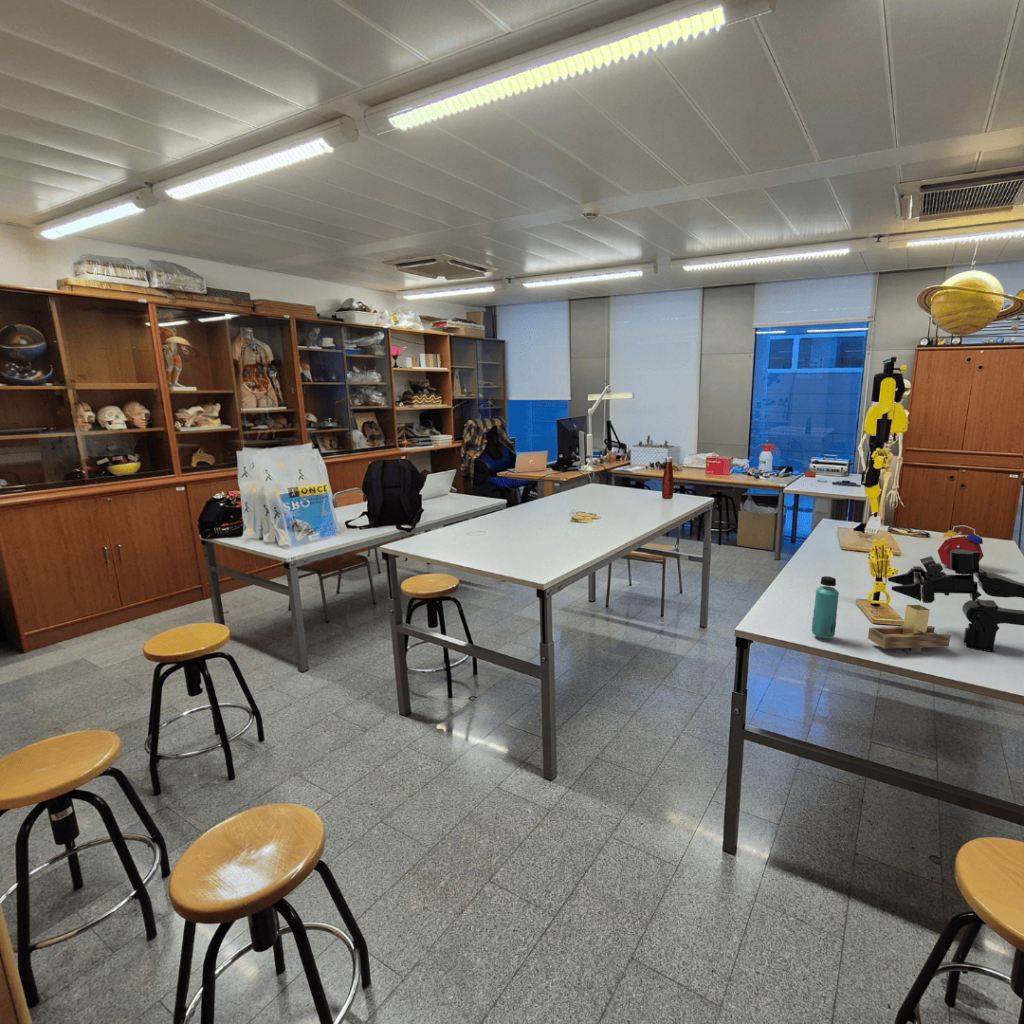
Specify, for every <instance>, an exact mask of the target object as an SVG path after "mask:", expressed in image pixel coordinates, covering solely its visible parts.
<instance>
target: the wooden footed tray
mask: <svg viewBox="0 0 1024 1024" xmlns="http://www.w3.org/2000/svg"><path fill="white" fill-rule="evenodd" d="M935 628H936V627H934V626H933V625H927V631H926V634H923V635H905V634H903V633H902V632H903V626H889V627H888V626H882V627H869V628H868V633H867V639H868V640H870V641H871V642H873V643H874V644H876V645H878V646H879V647H881V648H883V649H884V650H885V649H901V650H903V651H905V652H907V653H908V654H910V655H916V654H917V655H919V654H922V648H941V647H950V642H951V634H949V633H937V632H935Z"/></svg>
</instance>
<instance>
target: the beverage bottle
mask: <svg viewBox="0 0 1024 1024" xmlns="http://www.w3.org/2000/svg"><path fill="white" fill-rule="evenodd" d="M836 580H837V579H836V578H835V577H832V576H826V575H825V576H821V579H820V584H821V586H819V587H817V588H816V589H815V600H814V606H813V607H814V608H813V613H812V622H811V624H812V625H811V632H812V634H813V635H815V636H817V637H819V638H824V639H832V638H833V637H834V636H835V635H836V634H835V633H836V627H837V626H836V625H837V616H838V614H837V613H838V606H839V605H838V603H839V596H840V595H839V594H840V593H839V591H838V590H837V589H836V588H835V587H836V586H837V581H836Z"/></svg>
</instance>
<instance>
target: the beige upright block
mask: <svg viewBox="0 0 1024 1024" xmlns="http://www.w3.org/2000/svg"><path fill="white" fill-rule="evenodd" d="M905 606H906V607H905V612H904V619H903V626H902V627H903V632H902V633H903V634H905V635H923V634H926V631H927V626H929V625H928V623H929V617H930V611H931V609H929V608H928V607H925V606H923V605H920V604H906V605H905Z"/></svg>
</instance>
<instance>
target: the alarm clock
mask: <svg viewBox="0 0 1024 1024" xmlns="http://www.w3.org/2000/svg"><path fill="white" fill-rule="evenodd" d="M959 527H965V528H968V529H971V530H973V534H969V535H968V534H967V536H966V535H962V534H963V532H962V531H959V532H957V531H955V528H959ZM959 535H961V536H959ZM942 538H943V539H945V538H948V539H945V540H944V541H943V543H942V544H940V546H939V548H938V550H937V553H938V557H939V560H940V562H941V563H940V564H941V565H942V564H943V567H944V566H945V567H948V568H950V569H951V561H950V551H951V550H956V549H964V550H970V551H978V552H979V553H980V558H979V562H980V561H981V560H982V559H983V557H984V555H985V554H984V553H983V550H982V546H981V545H983V544H984V543H983V538H981V537H980V534H976V529H975V528H973V527H970V526H968V525H964V524H963V525H953V528H952V529H951V530H950V529H949V530H948V531H947V532H945V533H943V535H942Z"/></svg>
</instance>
